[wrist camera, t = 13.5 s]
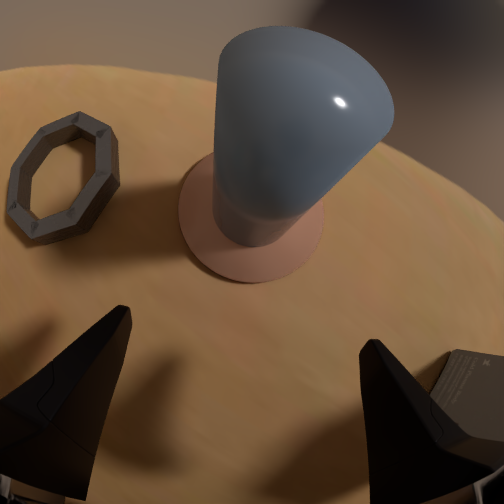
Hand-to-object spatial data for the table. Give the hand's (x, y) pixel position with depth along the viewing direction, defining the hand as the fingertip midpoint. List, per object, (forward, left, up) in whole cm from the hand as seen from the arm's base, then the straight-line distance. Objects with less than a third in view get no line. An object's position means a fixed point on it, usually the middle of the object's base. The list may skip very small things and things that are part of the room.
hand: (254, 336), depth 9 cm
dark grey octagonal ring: (+1, +17, -8) cm, 19 cm away
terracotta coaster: (+7, +3, -8) cm, 11 cm away
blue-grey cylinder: (+7, +3, -8) cm, 11 cm away
